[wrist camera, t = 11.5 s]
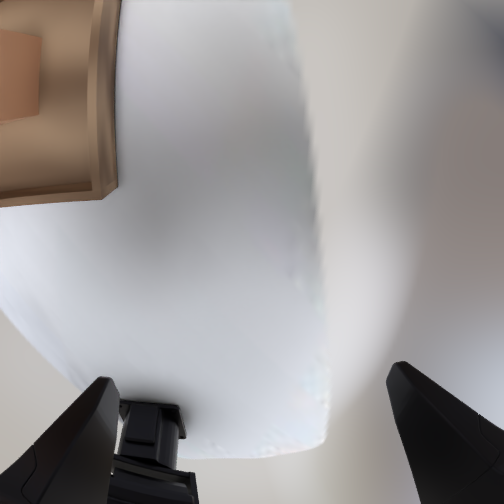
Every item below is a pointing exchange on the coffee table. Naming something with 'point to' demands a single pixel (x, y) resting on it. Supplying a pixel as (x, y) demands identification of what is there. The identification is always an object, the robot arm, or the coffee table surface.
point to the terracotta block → (19, 75)
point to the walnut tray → (64, 105)
